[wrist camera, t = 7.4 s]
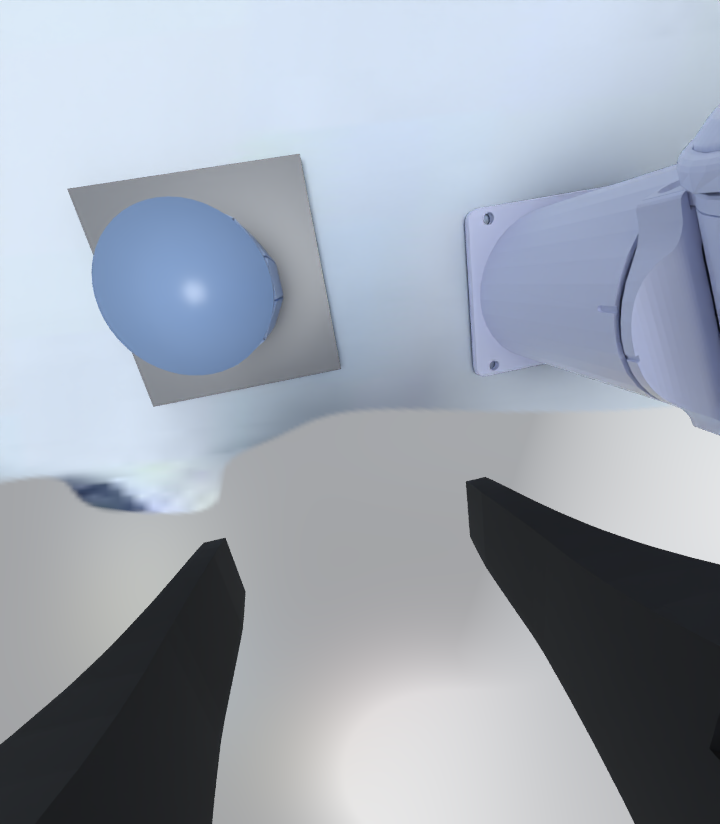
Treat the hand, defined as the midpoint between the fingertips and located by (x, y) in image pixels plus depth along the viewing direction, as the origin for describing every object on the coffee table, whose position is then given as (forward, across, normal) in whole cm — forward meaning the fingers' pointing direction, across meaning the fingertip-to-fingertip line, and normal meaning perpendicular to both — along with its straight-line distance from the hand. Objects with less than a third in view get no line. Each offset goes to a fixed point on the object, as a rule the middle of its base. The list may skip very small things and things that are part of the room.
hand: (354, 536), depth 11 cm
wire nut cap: (+9, +4, -8) cm, 12 cm away
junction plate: (+9, +4, -8) cm, 13 cm away
